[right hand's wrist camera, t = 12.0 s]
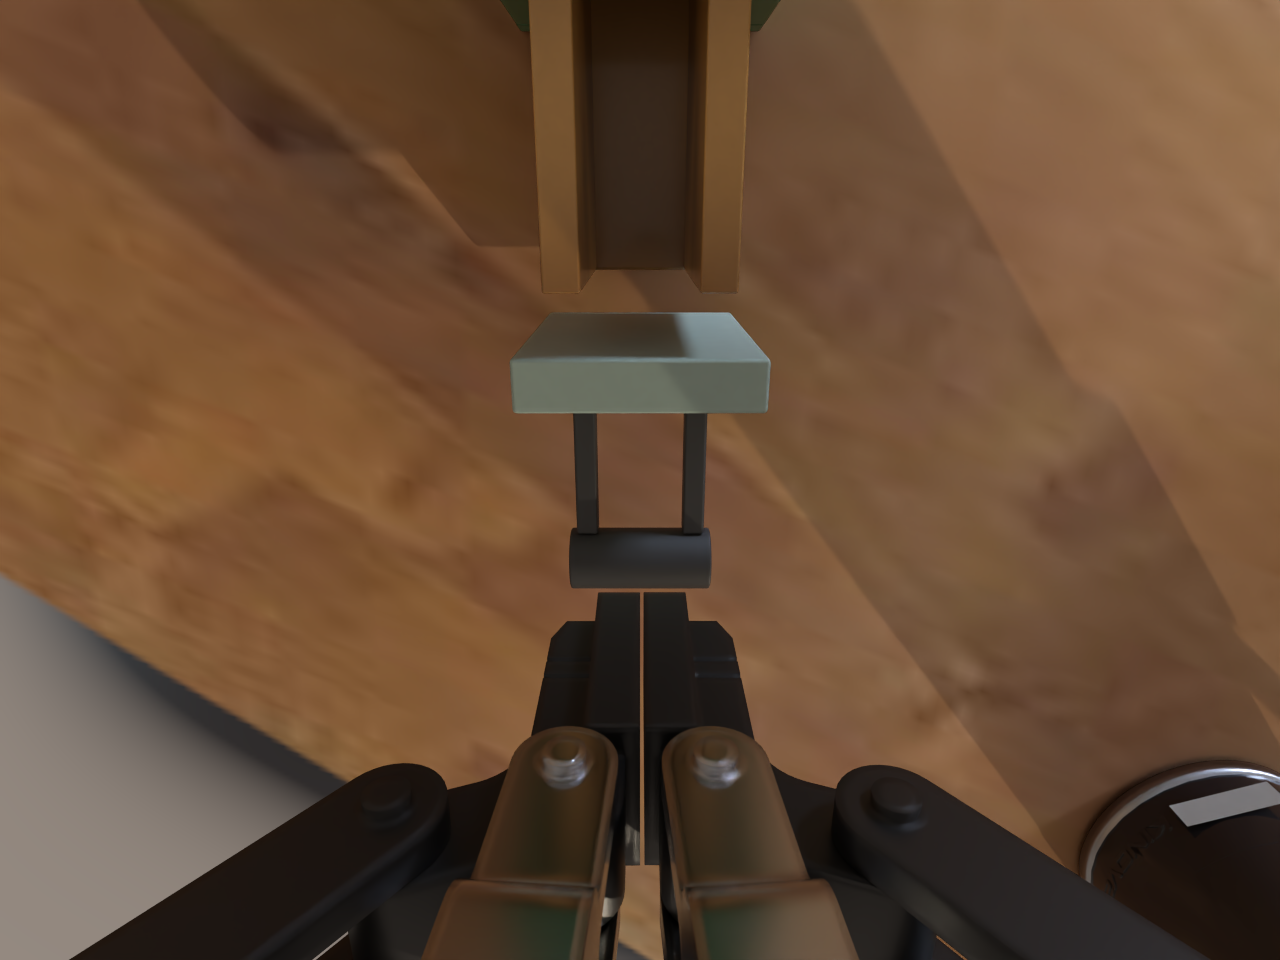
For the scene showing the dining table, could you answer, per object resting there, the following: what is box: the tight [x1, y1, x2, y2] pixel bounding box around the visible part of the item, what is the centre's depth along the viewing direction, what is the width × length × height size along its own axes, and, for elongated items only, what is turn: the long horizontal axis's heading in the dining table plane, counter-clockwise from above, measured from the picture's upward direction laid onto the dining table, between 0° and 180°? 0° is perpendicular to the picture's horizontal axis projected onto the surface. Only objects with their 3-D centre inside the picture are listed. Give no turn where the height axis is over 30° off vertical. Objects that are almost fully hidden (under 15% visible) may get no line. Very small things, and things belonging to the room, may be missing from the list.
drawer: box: [510, 0, 771, 588], centre depth 17 cm, size 26×6×7 cm, turn 0°
